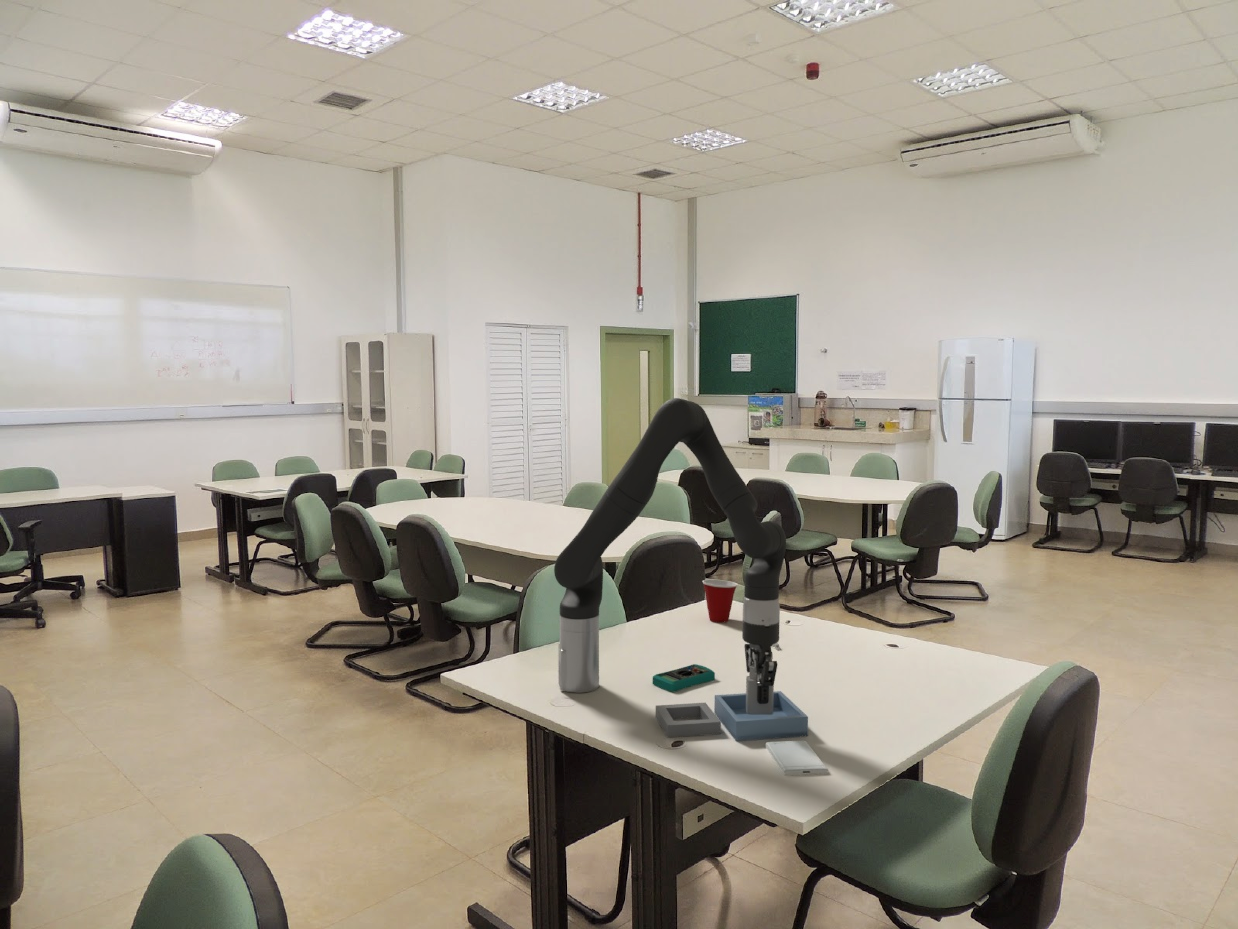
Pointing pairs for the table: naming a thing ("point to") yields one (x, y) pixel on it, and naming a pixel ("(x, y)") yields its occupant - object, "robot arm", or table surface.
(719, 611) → the plastic cup
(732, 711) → the parts tray
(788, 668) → the table surface
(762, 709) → the power adapter
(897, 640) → the table surface
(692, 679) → the digital multimeter
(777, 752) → the hard drive
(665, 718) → the adapter holder
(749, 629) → the robot arm
